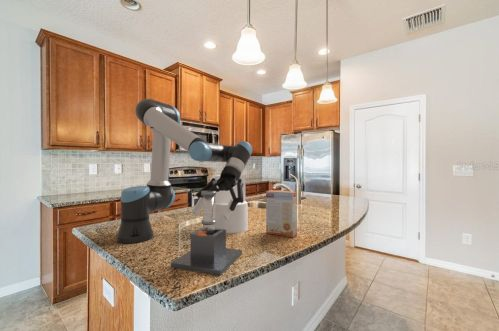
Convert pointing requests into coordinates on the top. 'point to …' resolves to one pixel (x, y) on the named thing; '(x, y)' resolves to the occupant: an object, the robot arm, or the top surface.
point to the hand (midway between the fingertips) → (209, 215)
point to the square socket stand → (208, 253)
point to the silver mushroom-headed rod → (208, 212)
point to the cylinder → (238, 216)
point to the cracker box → (281, 213)
